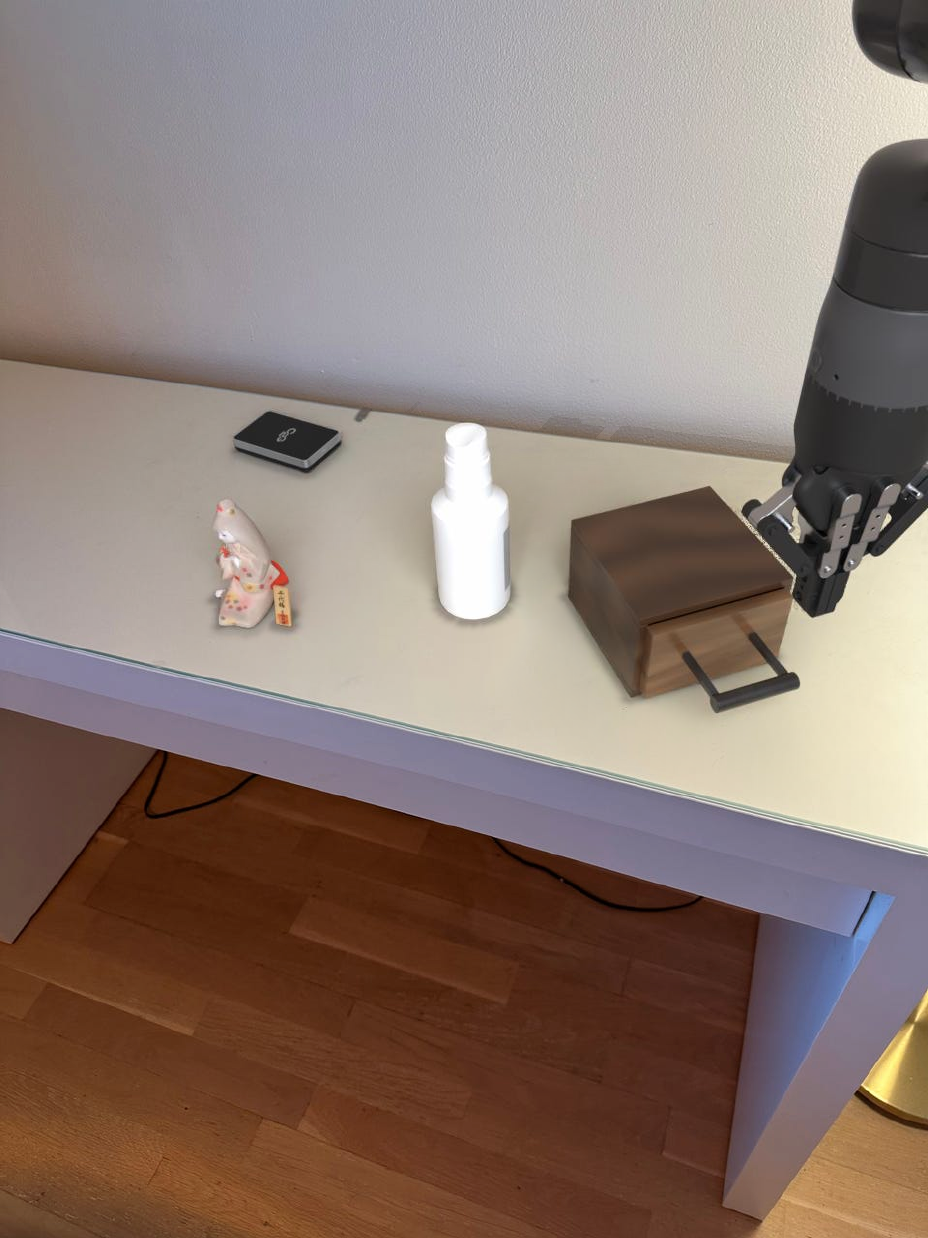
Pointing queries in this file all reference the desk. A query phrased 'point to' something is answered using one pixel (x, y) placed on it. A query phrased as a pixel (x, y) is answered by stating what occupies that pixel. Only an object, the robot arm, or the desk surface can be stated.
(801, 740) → the desk surface
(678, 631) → the drawer
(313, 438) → the external hard drive
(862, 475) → the robot arm
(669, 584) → the cabinet
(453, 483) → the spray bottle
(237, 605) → the figurine
